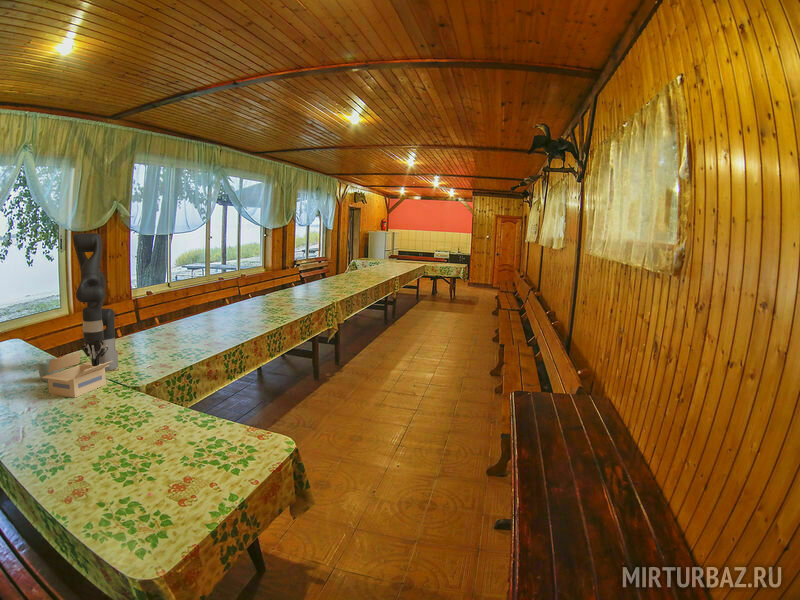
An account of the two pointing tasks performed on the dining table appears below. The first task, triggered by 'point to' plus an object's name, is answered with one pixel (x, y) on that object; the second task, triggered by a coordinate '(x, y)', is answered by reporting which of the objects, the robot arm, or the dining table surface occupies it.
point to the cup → (45, 369)
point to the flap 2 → (93, 369)
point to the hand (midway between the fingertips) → (95, 365)
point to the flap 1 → (64, 362)
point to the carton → (75, 381)
